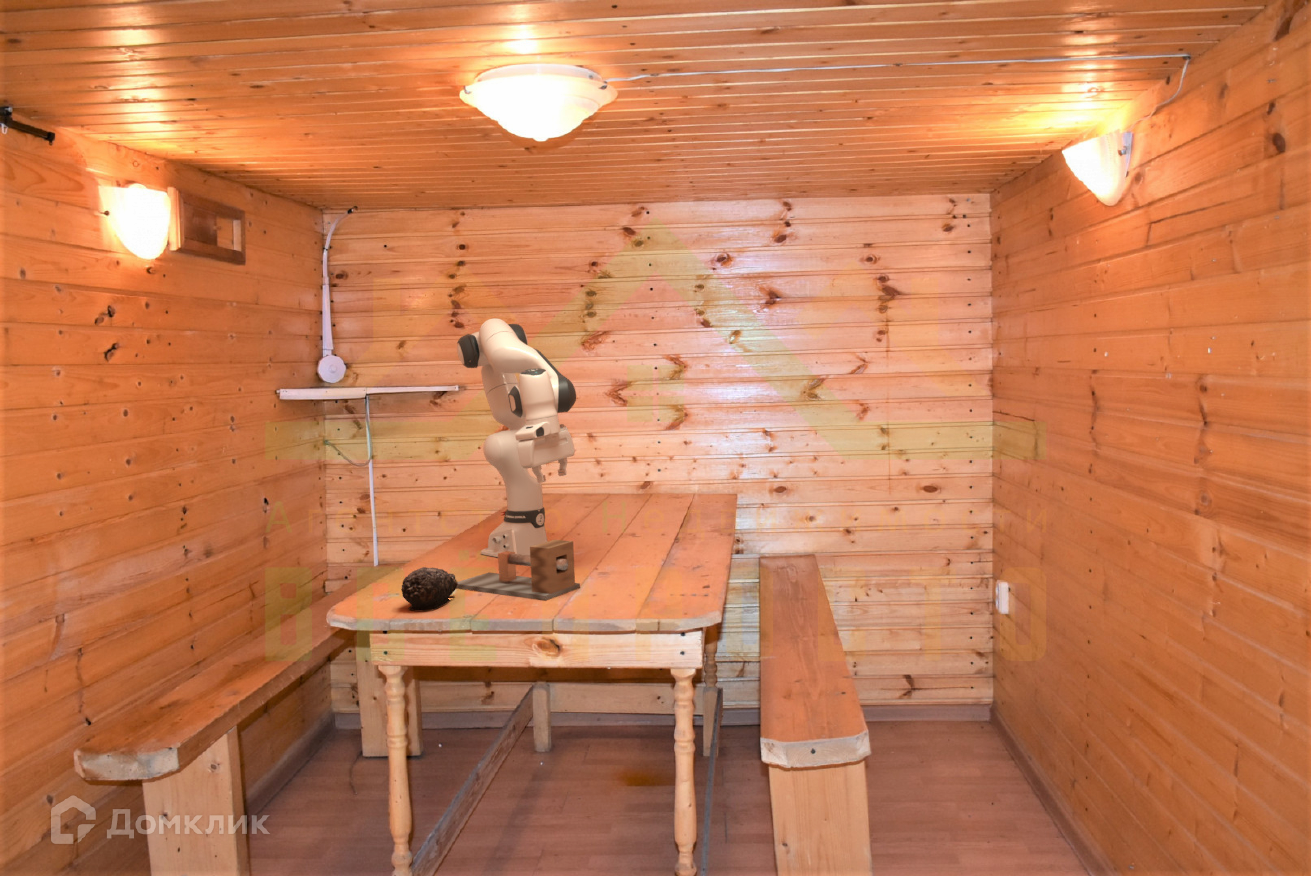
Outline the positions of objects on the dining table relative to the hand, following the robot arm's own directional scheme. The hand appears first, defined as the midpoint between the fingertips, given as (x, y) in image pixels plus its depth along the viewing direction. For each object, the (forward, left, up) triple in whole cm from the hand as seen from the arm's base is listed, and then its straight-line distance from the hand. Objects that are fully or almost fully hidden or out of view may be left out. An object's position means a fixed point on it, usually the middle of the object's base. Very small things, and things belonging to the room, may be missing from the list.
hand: (552, 478), depth 251 cm
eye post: (-4, -12, -28) cm, 30 cm away
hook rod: (+2, -12, -26) cm, 28 cm away
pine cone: (-13, -34, -28) cm, 46 cm away
